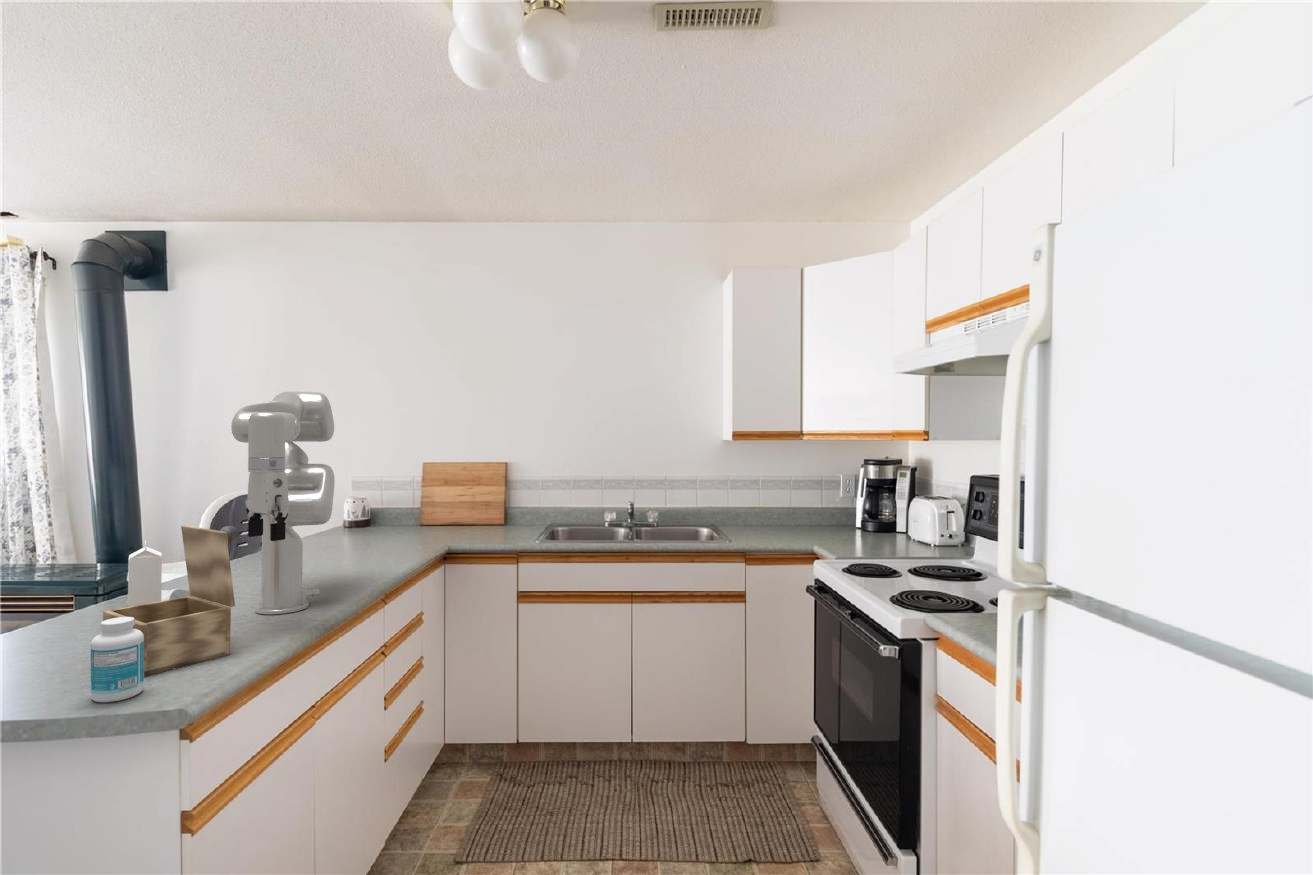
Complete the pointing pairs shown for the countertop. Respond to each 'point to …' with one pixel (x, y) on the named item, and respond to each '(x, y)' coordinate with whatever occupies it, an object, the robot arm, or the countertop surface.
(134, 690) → the pill bottle
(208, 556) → the flap
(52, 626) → the countertop surface
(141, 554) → the milk
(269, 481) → the robot arm
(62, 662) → the countertop surface
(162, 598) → the spoon rest
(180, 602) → the wooden box
